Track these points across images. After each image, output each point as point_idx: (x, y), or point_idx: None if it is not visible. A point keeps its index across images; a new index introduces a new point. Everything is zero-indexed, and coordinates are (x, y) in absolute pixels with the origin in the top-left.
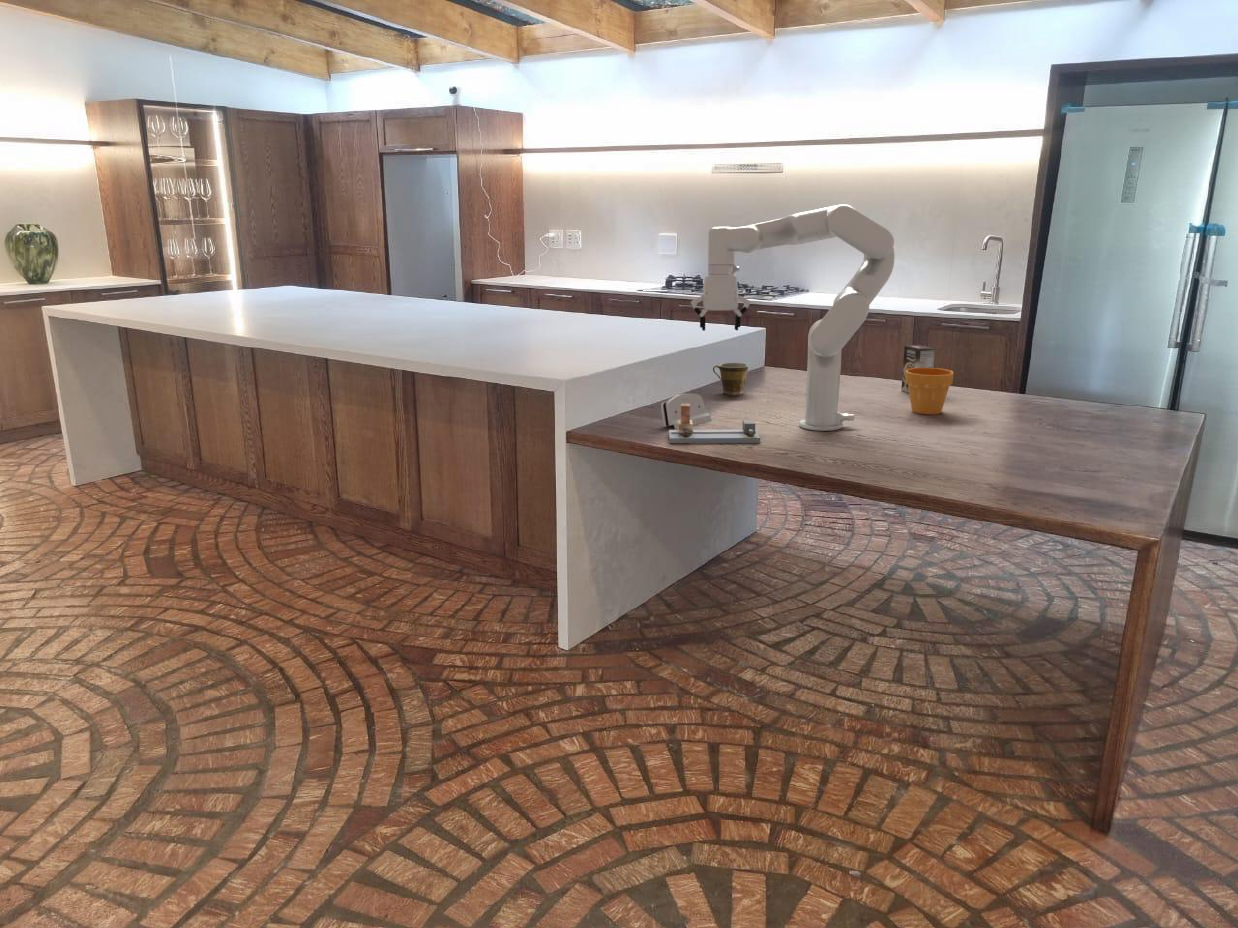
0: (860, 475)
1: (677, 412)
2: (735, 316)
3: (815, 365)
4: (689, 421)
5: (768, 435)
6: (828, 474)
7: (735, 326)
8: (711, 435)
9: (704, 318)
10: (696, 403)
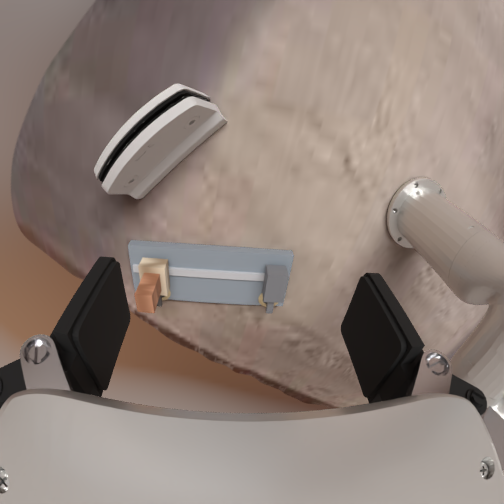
0: (332, 389)
1: (135, 178)
2: (389, 371)
3: (464, 298)
4: (160, 292)
5: (311, 258)
6: (307, 389)
7: (351, 334)
8: (203, 288)
9: (101, 387)
10: (182, 125)
